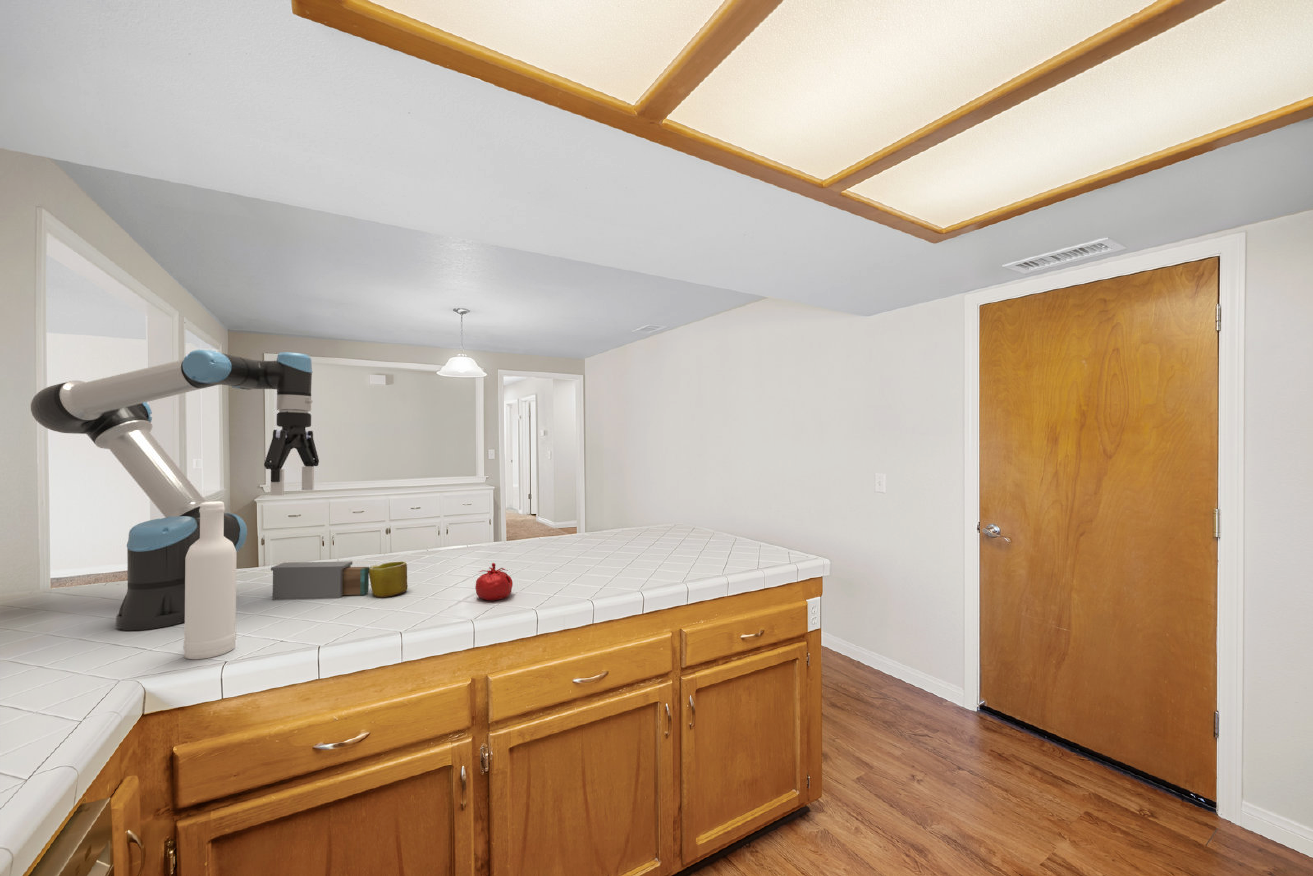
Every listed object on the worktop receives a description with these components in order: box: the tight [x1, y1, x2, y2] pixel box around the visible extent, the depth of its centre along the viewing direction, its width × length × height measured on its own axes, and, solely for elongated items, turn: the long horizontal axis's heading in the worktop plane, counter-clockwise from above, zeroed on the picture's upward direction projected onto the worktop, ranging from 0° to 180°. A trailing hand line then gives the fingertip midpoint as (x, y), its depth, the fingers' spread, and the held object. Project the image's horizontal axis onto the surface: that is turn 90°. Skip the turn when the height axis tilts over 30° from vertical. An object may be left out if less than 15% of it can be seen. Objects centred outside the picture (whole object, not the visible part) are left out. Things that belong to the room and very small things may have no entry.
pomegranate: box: [474, 562, 514, 601], centre depth 141 cm, size 10×10×9 cm
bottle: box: [183, 500, 237, 660], centre depth 104 cm, size 8×8×30 cm
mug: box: [368, 560, 408, 598], centre depth 145 cm, size 12×10×10 cm
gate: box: [342, 566, 370, 596], centre depth 142 cm, size 3×16×7 cm, turn 96°
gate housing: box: [270, 561, 353, 601], centre depth 142 cm, size 6×18×8 cm, turn 96°
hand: (293, 492), depth 137 cm, fingers open, 13 cm apart
